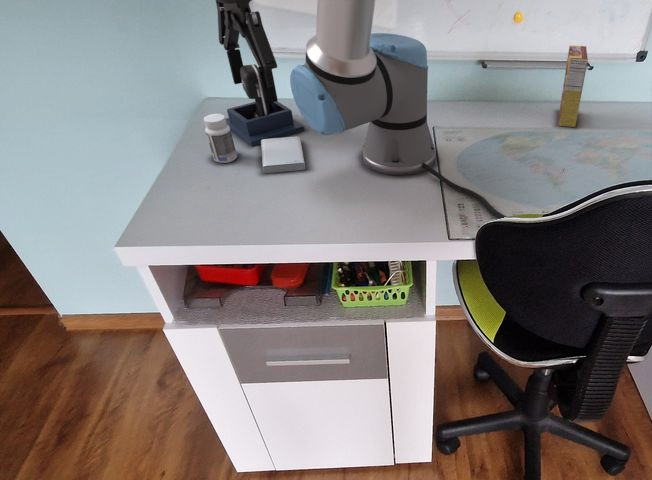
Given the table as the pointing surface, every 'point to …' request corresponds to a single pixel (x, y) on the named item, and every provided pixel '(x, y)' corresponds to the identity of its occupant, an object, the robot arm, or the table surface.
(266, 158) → the hard drive
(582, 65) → the candy box
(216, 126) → the pill bottle
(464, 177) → the table surface
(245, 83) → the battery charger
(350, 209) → the table surface
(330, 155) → the table surface
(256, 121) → the holder
